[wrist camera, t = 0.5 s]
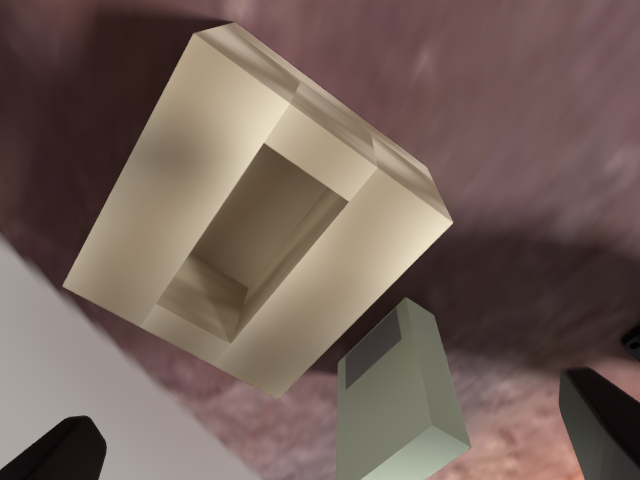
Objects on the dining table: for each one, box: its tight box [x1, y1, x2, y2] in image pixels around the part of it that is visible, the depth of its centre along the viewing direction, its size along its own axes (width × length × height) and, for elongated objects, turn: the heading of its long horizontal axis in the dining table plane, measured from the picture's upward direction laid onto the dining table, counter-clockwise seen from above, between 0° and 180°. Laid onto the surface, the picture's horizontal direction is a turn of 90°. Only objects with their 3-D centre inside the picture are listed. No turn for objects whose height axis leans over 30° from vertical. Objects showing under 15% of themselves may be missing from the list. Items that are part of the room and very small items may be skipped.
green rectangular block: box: [336, 297, 471, 480], centre depth 21 cm, size 2×6×8 cm, turn 144°
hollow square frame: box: [62, 22, 453, 399], centre depth 18 cm, size 10×11×6 cm
